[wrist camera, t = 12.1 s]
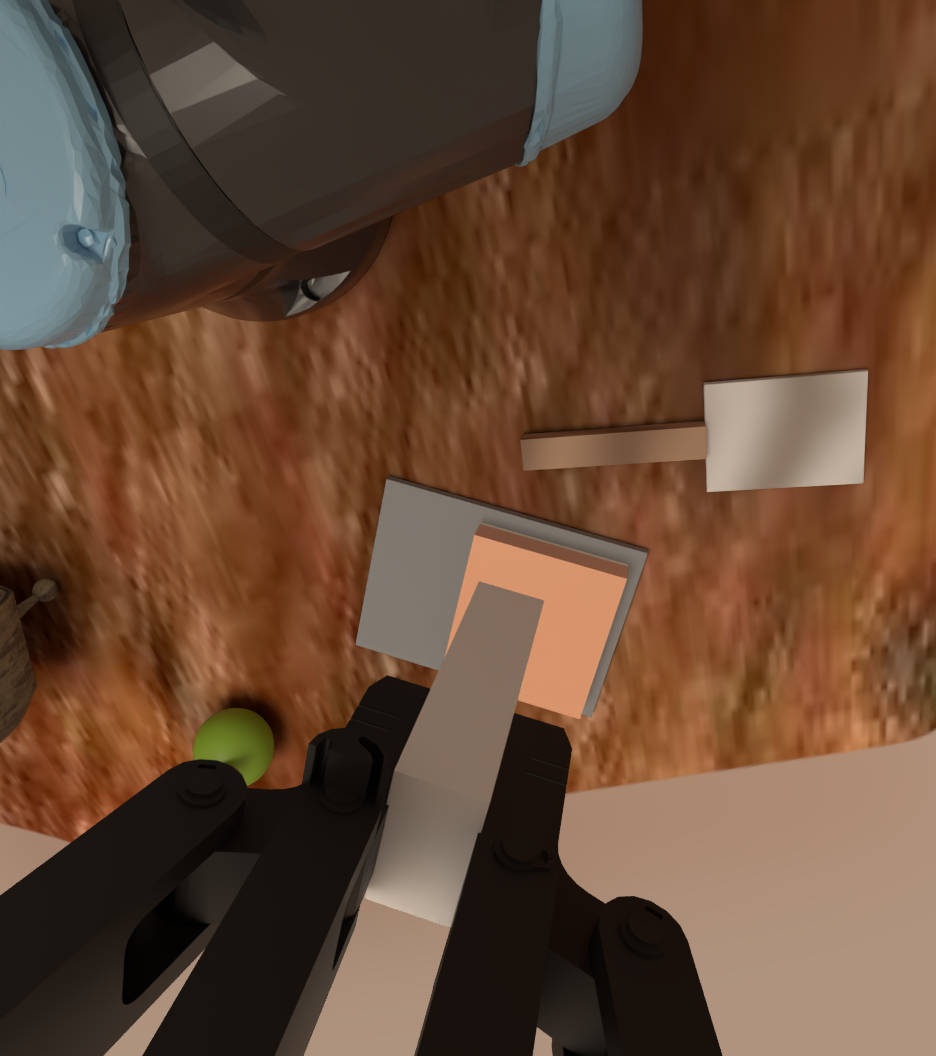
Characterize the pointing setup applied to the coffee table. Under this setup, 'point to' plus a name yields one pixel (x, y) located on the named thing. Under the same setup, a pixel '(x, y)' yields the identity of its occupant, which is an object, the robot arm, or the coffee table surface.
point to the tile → (550, 609)
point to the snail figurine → (236, 742)
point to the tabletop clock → (17, 655)
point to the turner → (738, 435)
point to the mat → (455, 571)
